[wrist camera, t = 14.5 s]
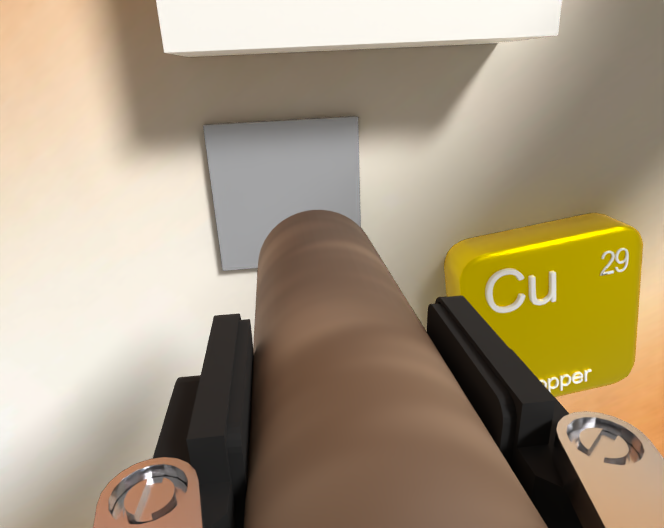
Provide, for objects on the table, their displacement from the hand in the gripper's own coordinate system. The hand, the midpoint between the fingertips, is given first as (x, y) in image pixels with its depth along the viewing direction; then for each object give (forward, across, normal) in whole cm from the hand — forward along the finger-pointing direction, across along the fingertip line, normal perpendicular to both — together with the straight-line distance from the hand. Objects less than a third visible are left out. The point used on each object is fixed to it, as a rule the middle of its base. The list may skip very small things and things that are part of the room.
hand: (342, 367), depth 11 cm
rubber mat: (+28, 0, +2) cm, 28 cm away
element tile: (+29, -21, +14) cm, 38 cm away
